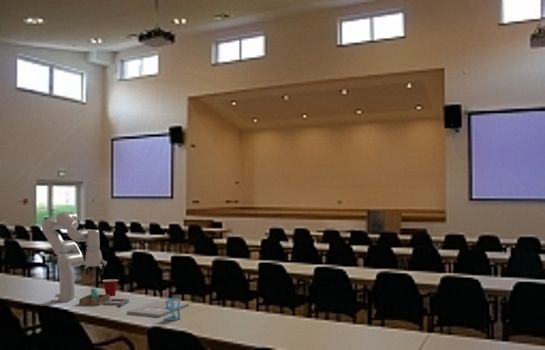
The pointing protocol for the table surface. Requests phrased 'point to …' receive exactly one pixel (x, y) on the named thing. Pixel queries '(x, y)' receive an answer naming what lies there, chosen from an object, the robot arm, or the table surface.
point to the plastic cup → (110, 286)
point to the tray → (124, 301)
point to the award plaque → (155, 309)
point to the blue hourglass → (173, 309)
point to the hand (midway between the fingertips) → (94, 274)
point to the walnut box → (94, 300)
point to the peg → (94, 293)
